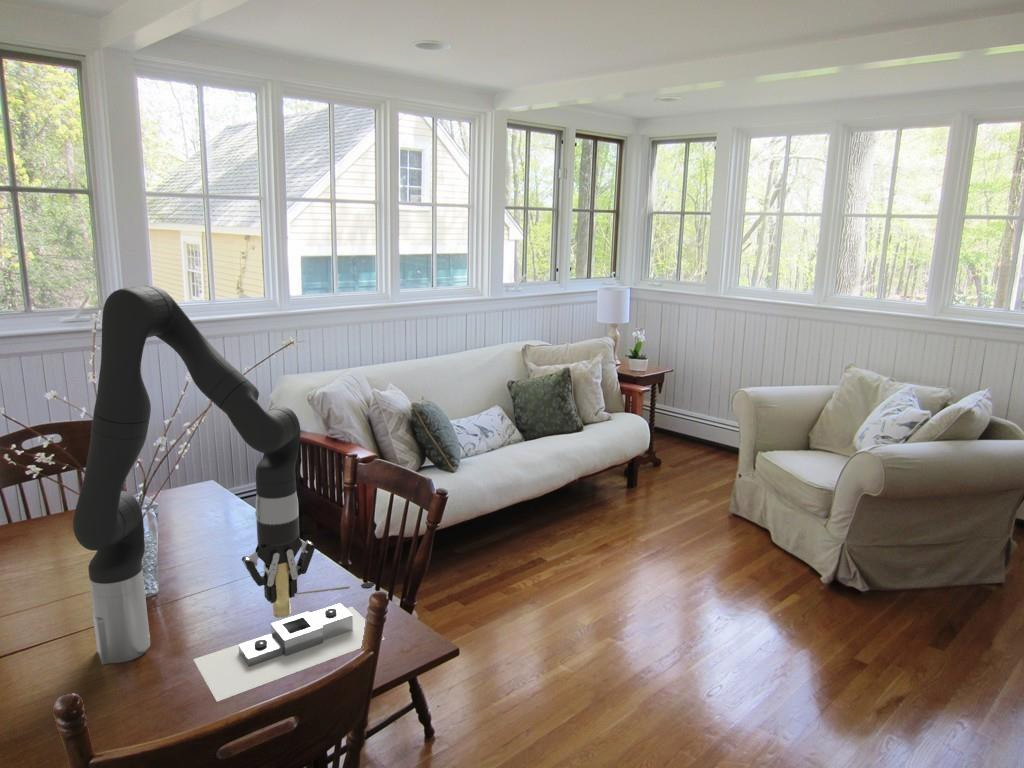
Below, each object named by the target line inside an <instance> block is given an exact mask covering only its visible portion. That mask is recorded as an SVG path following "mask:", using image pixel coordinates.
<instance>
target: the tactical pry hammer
mask: <svg viewBox="0 0 1024 768" xmlns="http://www.w3.org/2000/svg"><path fill="white" fill-rule="evenodd" d="M373 586H375V582H373V581H372V582H370V581H369V582H363V583H361V584H360V587H361V588H362V589H369V588H372V587H373ZM350 588H351V586H349V585H348V586H343V587H341V586H340V587H333V588H326V589H318V590H310V591H303V592H301V591H300V592H297V593H296V594H295V595H303V594H313V593H320V592H329V591H339V590H341V591H342V590H348V589H350Z"/></svg>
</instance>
